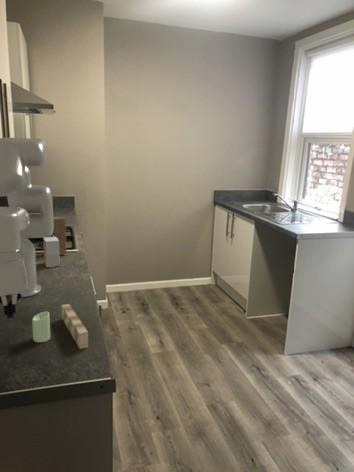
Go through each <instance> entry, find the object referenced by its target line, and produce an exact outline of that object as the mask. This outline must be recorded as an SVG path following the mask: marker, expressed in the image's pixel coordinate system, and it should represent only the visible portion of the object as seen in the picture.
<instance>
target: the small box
mask: <svg viewBox="0 0 354 472" xmlns="http://www.w3.org/2000/svg"><path fill="white" fill-rule="evenodd" d="M42 240H43V246H44V249H43V260H44V261H43V263H44V265H45V267H46V268H47V267H49V268H56V267H55V266H59V267H61V263H60V256H59V240H58V238H57V237H54V236H50V237H45V238H42Z"/></svg>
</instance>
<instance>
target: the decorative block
mask: <svg viewBox="0 0 354 472" xmlns="http://www.w3.org/2000/svg"><path fill="white" fill-rule="evenodd" d="M66 221H67V219H66V217H64V216H53V222H54V230H53V237H57V238H58V240H59V255H63V256H65V255H64V254H66V255H67V227H66V225H67V224H66V223H67V222H66ZM43 250H44V245H43Z"/></svg>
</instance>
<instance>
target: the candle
mask: <svg viewBox="0 0 354 472" xmlns="http://www.w3.org/2000/svg"><path fill="white" fill-rule="evenodd" d="M50 321H51V319H50V312H49V311H42V312H40V313H37V314H36V315H34V316H33V318H31V322H32V325H31V326H32V340H33V342H36V343H45V342H47V341H49V340H50V339H51V322H50Z"/></svg>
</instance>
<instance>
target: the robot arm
mask: <svg viewBox="0 0 354 472" xmlns="http://www.w3.org/2000/svg"><path fill="white" fill-rule="evenodd" d="M47 157H48V146H47V143H46V141H45V140H44V139H41V138H25V137H24V138H23V137H0V197H4V196H5V195H6V196H7V198H6V199H7V203H8V206H0V304H2V306H3V315H4V316H6V318H7V319H10V318H11V319H13V318H14V314H16V304H17V302H18V301H19V300H20V299H21V298H25V297H27V298H28V297H32V296H35V295H38V294H39V293H40V292H42V291H41V290H42V286H41V285H40V284H38V283H37V282H38V281H37V279H38V278H37V259H36V258H37V257H36V256H37V255H36V248H35V245H34V244H33V242H32V241H30V240H29V239H36V238H37V239H41V238H42V239H43V238H45V237H52V236H53V235H54V233H53V230H54V222H53V217H54V207H53V204H54V202H53V200H54V199H53V192H52V190H51V188H50V187H49V186H48V185H43V184H42V185H41V184H32V179H31V178H32V177H31V176H32V175H31V171H30V168H29V167H43V166H44V165H45V164H46V161H47ZM28 211H39V213H38V212H37V213H36V212H35V213H30V212H28ZM6 296H10V299H9V301H8V299H7V297H6Z"/></svg>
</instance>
